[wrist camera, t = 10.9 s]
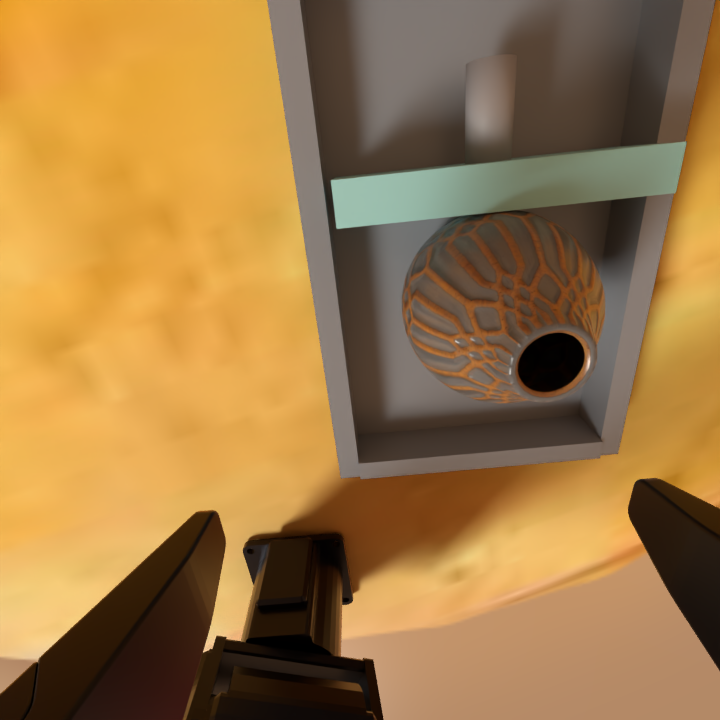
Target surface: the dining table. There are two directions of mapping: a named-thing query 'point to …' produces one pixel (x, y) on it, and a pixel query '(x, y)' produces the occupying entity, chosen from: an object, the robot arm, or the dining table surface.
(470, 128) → the pusher
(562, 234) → the vase
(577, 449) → the gray rectangular tray
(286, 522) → the dining table surface
